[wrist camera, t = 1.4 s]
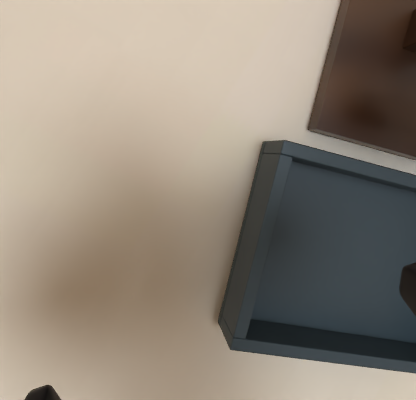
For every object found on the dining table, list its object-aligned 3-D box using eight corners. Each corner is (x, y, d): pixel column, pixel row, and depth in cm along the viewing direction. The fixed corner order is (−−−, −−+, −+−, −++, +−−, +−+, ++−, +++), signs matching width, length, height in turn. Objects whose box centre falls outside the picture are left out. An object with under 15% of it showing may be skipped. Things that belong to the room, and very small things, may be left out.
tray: (418, 350, 27) (457, 379, 24) (217, 321, 24) (229, 350, 20) (466, 195, 26) (515, 201, 23) (263, 141, 23) (284, 139, 19)
